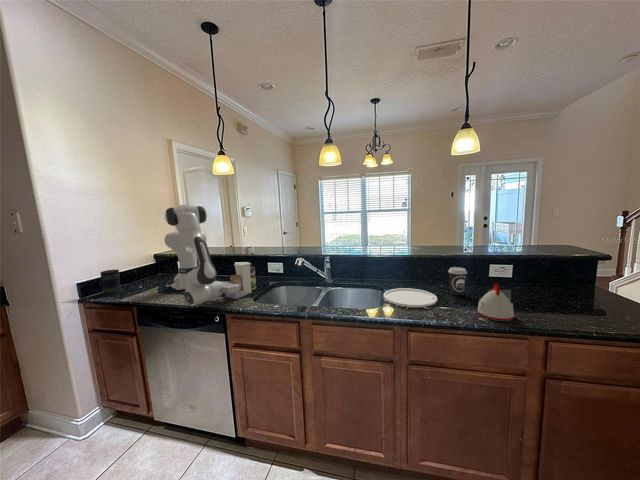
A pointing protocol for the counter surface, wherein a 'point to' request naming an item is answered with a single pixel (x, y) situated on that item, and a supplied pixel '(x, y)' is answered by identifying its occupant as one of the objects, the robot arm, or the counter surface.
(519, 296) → the counter surface
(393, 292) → the plate
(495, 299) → the kitchen timer
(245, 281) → the boot
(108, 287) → the storage jar
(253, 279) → the coffee can
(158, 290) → the counter surface
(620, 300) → the counter surface
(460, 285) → the coffee cup
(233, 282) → the tan rectangular block
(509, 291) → the counter surface
